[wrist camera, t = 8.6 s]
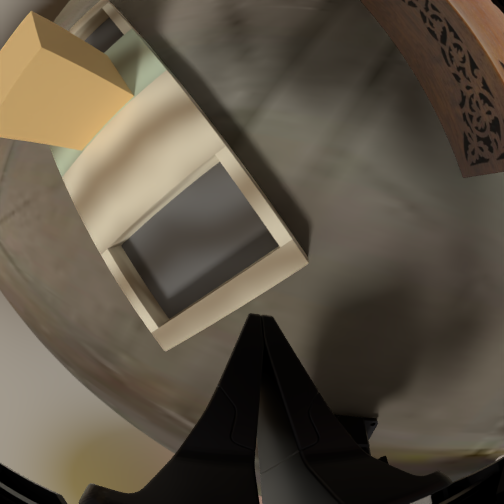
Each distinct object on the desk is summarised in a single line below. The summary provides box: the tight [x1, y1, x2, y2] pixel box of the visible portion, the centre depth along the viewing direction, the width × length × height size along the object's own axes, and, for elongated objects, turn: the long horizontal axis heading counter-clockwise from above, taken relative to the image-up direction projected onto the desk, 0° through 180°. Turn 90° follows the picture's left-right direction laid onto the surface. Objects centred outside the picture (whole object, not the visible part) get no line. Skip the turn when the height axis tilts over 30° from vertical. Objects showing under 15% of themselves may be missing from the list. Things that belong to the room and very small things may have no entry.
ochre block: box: [0, 11, 134, 151], centre depth 15 cm, size 7×7×11 cm
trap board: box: [49, 0, 309, 352], centre depth 22 cm, size 37×14×2 cm, turn 36°
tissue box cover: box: [360, 0, 504, 178], centre depth 11 cm, size 26×14×10 cm, turn 24°
